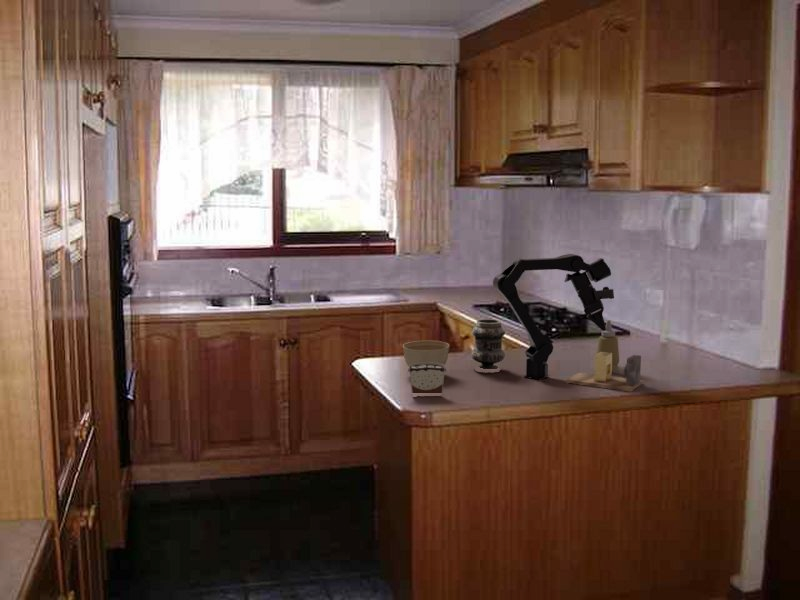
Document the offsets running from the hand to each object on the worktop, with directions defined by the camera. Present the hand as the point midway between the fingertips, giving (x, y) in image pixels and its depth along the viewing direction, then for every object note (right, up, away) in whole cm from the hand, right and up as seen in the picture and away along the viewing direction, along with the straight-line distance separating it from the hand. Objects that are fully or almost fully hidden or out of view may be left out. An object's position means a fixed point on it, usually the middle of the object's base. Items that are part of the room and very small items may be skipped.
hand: (604, 329), depth 294 cm
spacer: (-2, -16, -6) cm, 17 cm away
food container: (-61, -20, -18) cm, 67 cm away
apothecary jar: (-38, -15, +15) cm, 44 cm away
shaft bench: (-2, -18, -6) cm, 19 cm away
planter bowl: (-60, -16, +7) cm, 63 cm away
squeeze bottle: (+4, -15, +12) cm, 20 cm away
